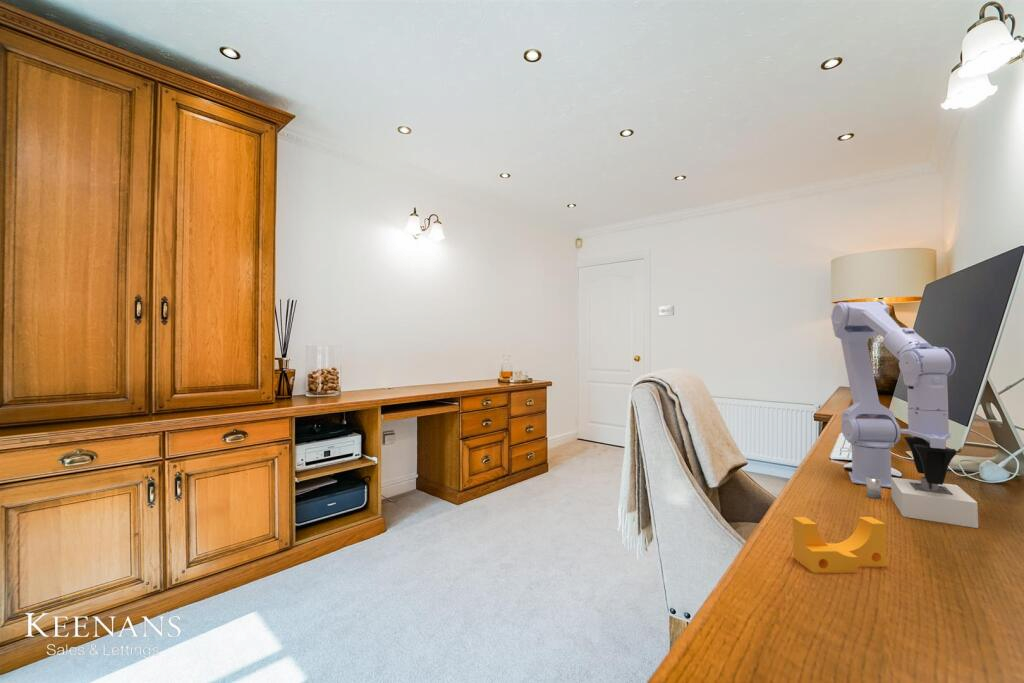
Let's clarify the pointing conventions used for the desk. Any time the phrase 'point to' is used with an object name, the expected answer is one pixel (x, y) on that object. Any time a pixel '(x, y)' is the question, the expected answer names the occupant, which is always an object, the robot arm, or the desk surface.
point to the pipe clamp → (840, 547)
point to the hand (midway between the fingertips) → (929, 478)
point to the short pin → (873, 487)
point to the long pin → (928, 485)
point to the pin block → (934, 503)
